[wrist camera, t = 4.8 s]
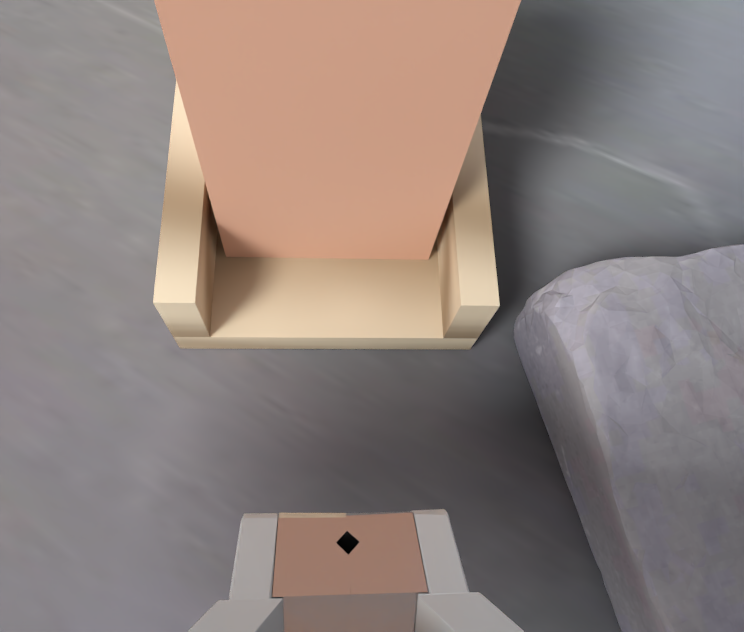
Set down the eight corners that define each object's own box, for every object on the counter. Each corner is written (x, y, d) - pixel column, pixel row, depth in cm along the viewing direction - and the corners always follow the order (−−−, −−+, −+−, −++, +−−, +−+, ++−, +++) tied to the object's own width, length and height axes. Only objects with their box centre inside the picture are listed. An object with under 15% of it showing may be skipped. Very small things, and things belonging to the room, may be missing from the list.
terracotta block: (428, 259, 20) (546, -71, 10) (226, 256, 19) (128, -95, 9) (420, 122, 22) (512, -278, 12) (234, 116, 21) (161, -307, 11)
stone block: (712, 272, 24) (473, 317, 21) (830, 203, 20) (555, 245, 16) (876, 616, 21) (622, 742, 17) (1062, 621, 16) (777, 792, 13)
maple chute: (470, 349, 20) (510, 290, 16) (180, 348, 19) (143, 285, 15) (435, -77, 27) (458, -199, 22) (217, -90, 26) (199, -217, 22)
